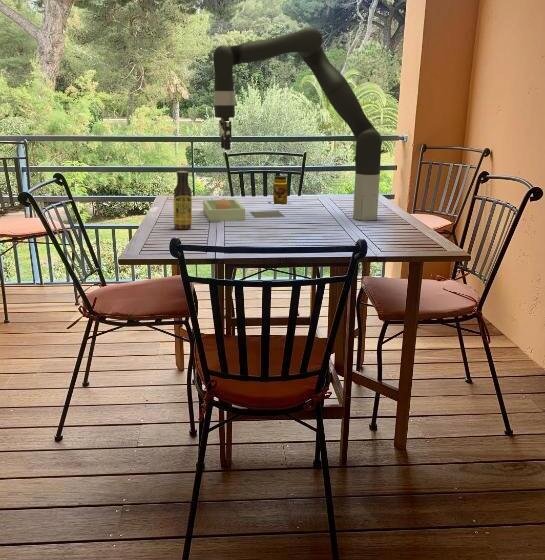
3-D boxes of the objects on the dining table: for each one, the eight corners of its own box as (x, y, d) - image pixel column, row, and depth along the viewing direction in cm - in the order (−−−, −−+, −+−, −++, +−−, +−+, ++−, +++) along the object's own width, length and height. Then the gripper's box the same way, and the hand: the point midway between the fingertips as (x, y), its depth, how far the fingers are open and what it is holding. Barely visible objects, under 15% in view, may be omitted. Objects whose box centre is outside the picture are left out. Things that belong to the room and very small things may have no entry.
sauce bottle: (175, 230, 201) (172, 172, 195) (173, 226, 207) (170, 170, 201) (193, 229, 203) (191, 172, 197) (191, 225, 209) (189, 170, 203)
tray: (245, 220, 217) (245, 209, 216) (209, 222, 214) (209, 210, 213) (235, 209, 238) (235, 199, 236) (203, 211, 235) (203, 200, 234)
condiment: (276, 205, 248) (277, 177, 245) (267, 202, 255) (267, 175, 252) (291, 204, 252) (292, 176, 248) (282, 201, 259) (282, 174, 255)
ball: (232, 215, 224) (231, 199, 222) (216, 216, 223) (216, 200, 221) (229, 212, 229) (229, 197, 228) (214, 213, 228) (214, 198, 226)
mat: (285, 217, 224) (285, 216, 223) (254, 218, 221) (254, 217, 221) (278, 211, 235) (278, 210, 235) (249, 212, 232) (249, 211, 232)
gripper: (237, 104, 208) (238, 150, 213) (231, 103, 221) (232, 147, 226) (217, 104, 206) (218, 150, 211) (211, 104, 219) (213, 147, 224)
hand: (225, 148), depth 219 cm, fingers open, 8 cm apart
